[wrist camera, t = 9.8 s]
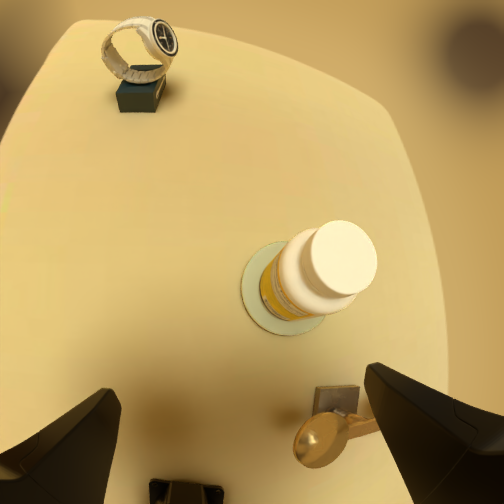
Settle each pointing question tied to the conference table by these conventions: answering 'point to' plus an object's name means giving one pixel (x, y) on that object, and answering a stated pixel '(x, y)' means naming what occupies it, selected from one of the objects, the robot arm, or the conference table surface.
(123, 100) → the watch
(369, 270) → the supplement bottle
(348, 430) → the balance
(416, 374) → the conference table surface
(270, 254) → the dish
